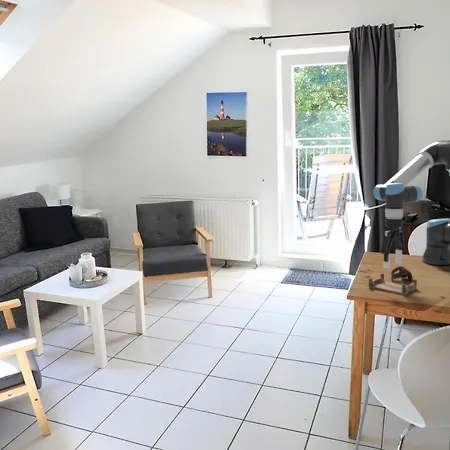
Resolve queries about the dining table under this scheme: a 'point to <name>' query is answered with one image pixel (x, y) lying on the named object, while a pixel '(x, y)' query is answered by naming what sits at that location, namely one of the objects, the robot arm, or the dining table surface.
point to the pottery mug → (401, 273)
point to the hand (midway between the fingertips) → (392, 266)
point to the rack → (391, 286)
